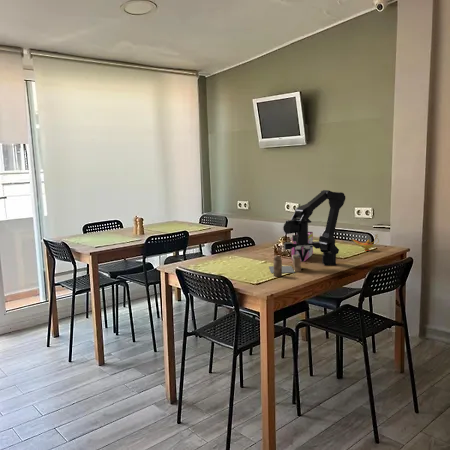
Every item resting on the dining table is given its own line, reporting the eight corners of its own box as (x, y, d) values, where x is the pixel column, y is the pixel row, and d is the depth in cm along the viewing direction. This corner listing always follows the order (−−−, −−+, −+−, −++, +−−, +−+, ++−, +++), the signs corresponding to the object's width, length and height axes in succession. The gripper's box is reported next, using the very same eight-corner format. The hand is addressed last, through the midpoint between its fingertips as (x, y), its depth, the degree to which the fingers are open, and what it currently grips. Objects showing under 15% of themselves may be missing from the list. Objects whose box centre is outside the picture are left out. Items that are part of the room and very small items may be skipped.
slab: (298, 267, 239) (297, 254, 238) (301, 271, 229) (300, 258, 228) (292, 267, 239) (291, 254, 238) (295, 272, 229) (294, 258, 228)
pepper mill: (281, 274, 224) (281, 254, 223) (282, 276, 221) (281, 256, 219) (273, 275, 225) (273, 254, 223) (274, 277, 221) (273, 256, 219)
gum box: (304, 262, 251) (304, 238, 249) (290, 261, 254) (290, 237, 252) (313, 253, 272) (313, 231, 271) (300, 253, 276) (300, 231, 274)
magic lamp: (352, 248, 284) (352, 231, 282) (380, 251, 273) (381, 233, 271) (347, 250, 278) (348, 232, 277) (376, 253, 267) (377, 235, 266)
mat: (291, 266, 241) (291, 265, 241) (294, 272, 227) (294, 272, 227) (268, 267, 241) (268, 266, 241) (270, 273, 228) (270, 272, 228)
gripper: (317, 229, 239) (317, 258, 241) (282, 230, 239) (282, 258, 242) (321, 232, 228) (321, 262, 230) (284, 233, 228) (285, 263, 231)
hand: (302, 261), depth 233 cm, fingers closed
